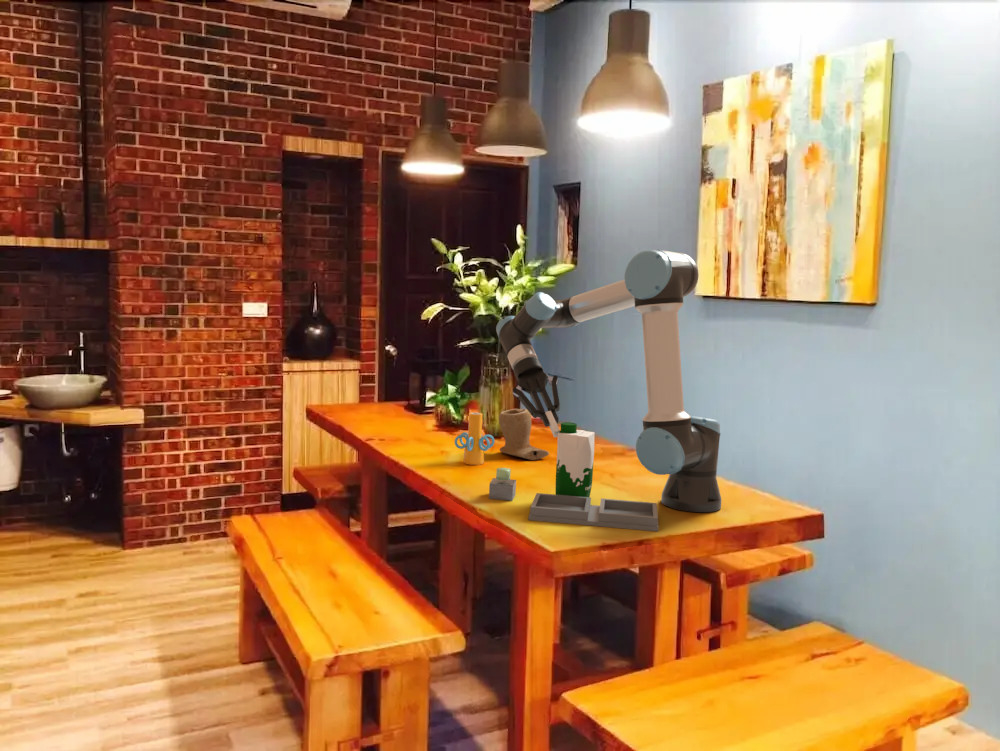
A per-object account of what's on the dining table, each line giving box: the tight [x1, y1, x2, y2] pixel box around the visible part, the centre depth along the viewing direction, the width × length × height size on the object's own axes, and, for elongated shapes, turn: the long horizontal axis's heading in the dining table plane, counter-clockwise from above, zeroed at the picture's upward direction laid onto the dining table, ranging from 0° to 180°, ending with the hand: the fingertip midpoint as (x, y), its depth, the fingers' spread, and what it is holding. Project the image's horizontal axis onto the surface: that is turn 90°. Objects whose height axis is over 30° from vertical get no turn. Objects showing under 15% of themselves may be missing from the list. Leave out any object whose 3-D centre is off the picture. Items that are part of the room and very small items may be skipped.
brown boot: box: [498, 408, 550, 461], centre depth 275 cm, size 15×12×15 cm
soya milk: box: [555, 421, 596, 498], centre depth 223 cm, size 9×9×20 cm
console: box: [488, 477, 517, 502], centre depth 226 cm, size 6×6×4 cm
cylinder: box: [454, 411, 495, 466], centre depth 263 cm, size 12×10×15 cm
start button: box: [495, 467, 512, 480], centre depth 225 cm, size 4×4×2 cm
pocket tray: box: [528, 492, 659, 532], centre depth 211 cm, size 30×14×3 cm, turn 81°
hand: (556, 433), depth 226 cm, fingers closed
